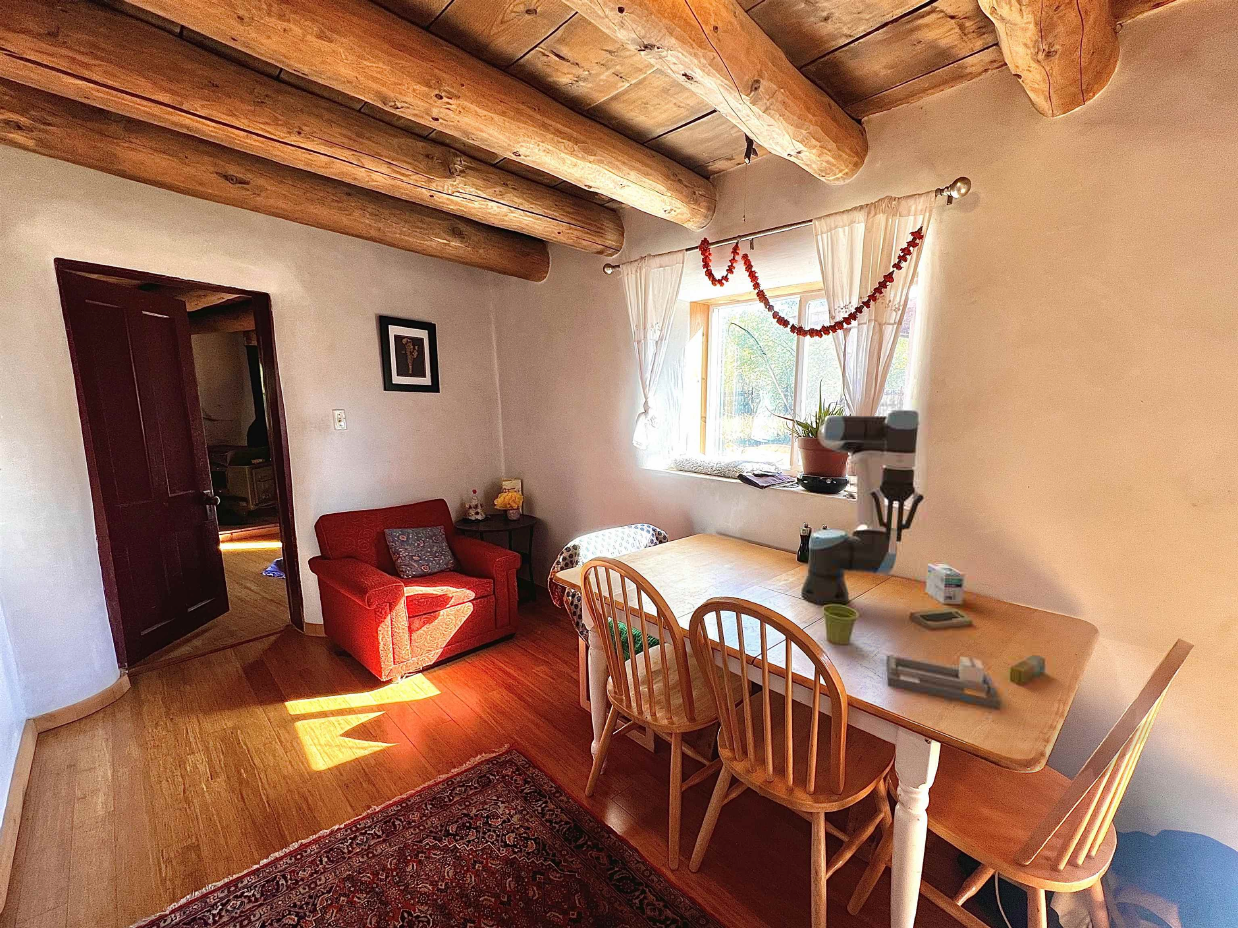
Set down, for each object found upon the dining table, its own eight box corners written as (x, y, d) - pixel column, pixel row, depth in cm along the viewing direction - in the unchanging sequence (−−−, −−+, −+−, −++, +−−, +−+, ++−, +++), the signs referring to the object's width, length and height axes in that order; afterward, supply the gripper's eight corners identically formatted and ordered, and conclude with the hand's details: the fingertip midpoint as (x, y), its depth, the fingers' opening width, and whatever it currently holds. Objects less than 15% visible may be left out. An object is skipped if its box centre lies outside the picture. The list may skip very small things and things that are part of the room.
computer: (929, 631, 153) (930, 621, 153) (908, 620, 161) (909, 610, 160) (972, 627, 156) (973, 616, 156) (950, 616, 164) (951, 606, 164)
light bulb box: (963, 604, 172) (965, 573, 171) (942, 604, 172) (945, 573, 171) (943, 592, 183) (946, 563, 181) (924, 592, 183) (927, 563, 182)
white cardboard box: (961, 683, 120) (963, 663, 119) (958, 675, 124) (960, 655, 123) (981, 688, 118) (983, 667, 118) (978, 679, 122) (980, 659, 121)
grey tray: (887, 685, 123) (888, 671, 123) (886, 662, 134) (887, 649, 134) (999, 709, 114) (1001, 695, 113) (988, 683, 125) (989, 669, 124)
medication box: (1032, 669, 132) (1033, 654, 131) (1045, 673, 129) (1046, 658, 129) (1009, 681, 126) (1010, 666, 125) (1022, 686, 123) (1023, 670, 123)
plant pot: (854, 635, 149) (856, 606, 148) (858, 650, 140) (860, 620, 139) (820, 630, 152) (821, 602, 151) (821, 644, 143) (823, 615, 142)
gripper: (871, 467, 138) (865, 552, 141) (927, 470, 132) (920, 559, 135) (871, 464, 145) (866, 545, 148) (925, 467, 139) (918, 551, 142)
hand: (892, 552), depth 141 cm, fingers closed
